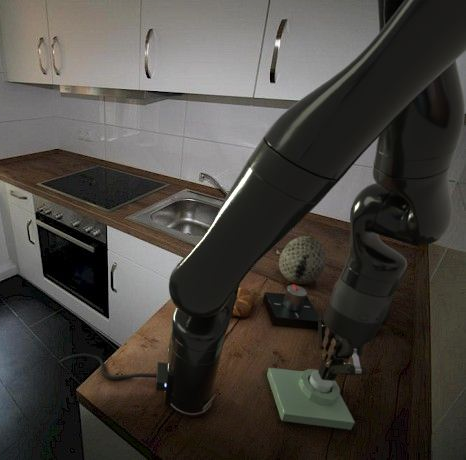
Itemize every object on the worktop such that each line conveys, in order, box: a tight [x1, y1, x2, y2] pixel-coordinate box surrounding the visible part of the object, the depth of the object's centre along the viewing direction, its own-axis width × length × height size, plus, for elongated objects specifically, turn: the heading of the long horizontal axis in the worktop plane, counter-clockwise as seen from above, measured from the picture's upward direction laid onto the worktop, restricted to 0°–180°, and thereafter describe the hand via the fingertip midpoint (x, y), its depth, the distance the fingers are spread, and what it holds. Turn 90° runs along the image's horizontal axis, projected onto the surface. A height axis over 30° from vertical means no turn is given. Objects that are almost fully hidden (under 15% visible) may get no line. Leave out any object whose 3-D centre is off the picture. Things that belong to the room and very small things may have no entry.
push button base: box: [266, 367, 356, 431], centre depth 61 cm, size 12×10×4 cm
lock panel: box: [262, 291, 320, 331], centre depth 82 cm, size 11×10×3 cm
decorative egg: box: [278, 235, 327, 285], centre depth 93 cm, size 12×12×15 cm
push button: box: [309, 371, 333, 393], centre depth 60 cm, size 4×4×2 cm
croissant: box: [232, 286, 256, 318], centre depth 86 cm, size 12×11×4 cm
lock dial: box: [283, 283, 308, 311], centre depth 81 cm, size 4×4×5 cm
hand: (325, 376), depth 59 cm, fingers closed
